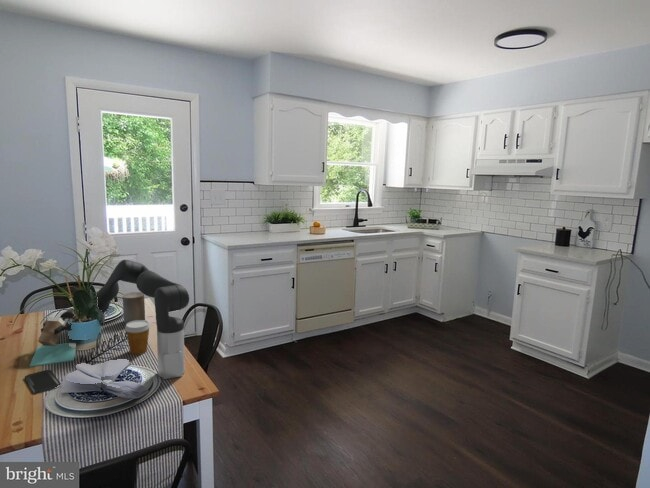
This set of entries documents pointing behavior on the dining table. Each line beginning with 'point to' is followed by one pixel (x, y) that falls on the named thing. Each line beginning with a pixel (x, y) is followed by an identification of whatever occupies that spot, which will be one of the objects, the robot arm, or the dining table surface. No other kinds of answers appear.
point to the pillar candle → (133, 307)
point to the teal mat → (53, 354)
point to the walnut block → (50, 332)
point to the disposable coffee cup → (137, 336)
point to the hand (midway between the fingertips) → (48, 331)
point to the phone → (42, 381)
